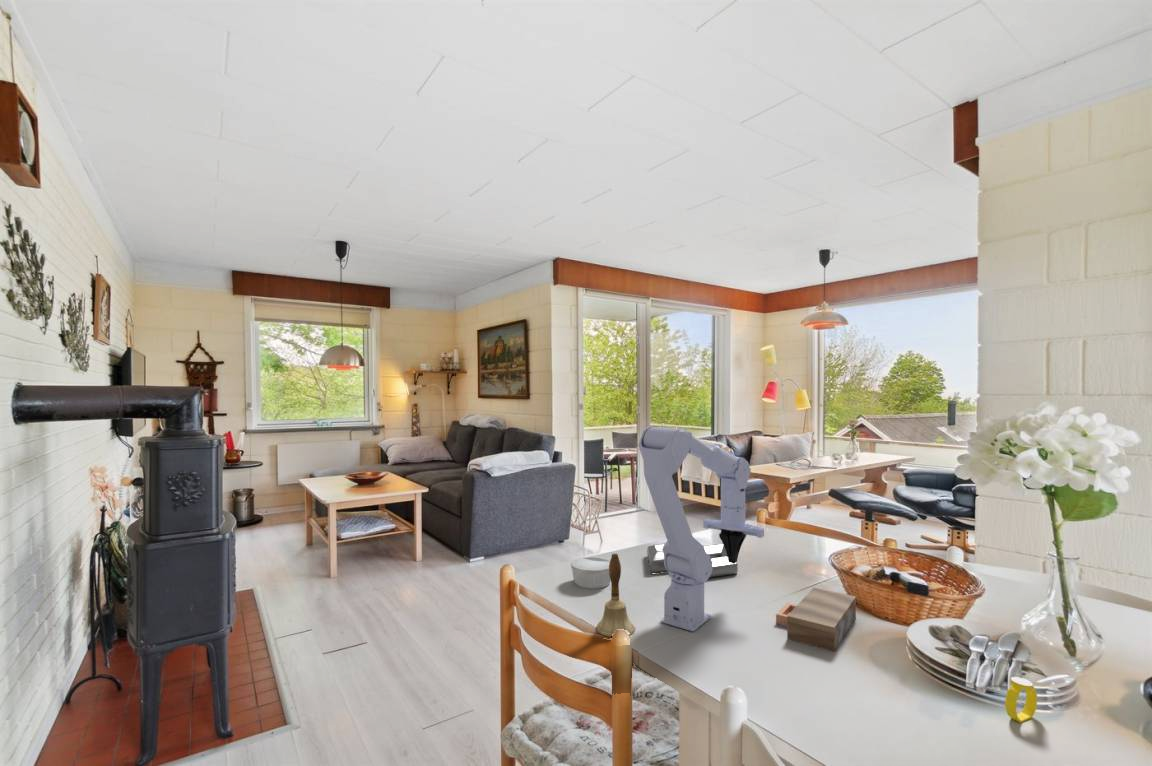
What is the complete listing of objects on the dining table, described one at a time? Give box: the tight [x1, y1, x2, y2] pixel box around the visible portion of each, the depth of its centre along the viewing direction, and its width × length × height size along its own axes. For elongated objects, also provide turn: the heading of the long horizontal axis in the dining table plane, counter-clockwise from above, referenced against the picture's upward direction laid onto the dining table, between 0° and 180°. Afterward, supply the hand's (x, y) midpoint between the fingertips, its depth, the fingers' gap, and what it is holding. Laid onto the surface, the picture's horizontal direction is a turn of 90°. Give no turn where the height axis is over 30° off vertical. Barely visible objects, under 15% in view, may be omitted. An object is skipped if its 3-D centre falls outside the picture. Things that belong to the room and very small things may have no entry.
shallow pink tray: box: [775, 602, 798, 627], centre depth 121 cm, size 8×12×2 cm, turn 52°
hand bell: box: [595, 553, 636, 638], centre depth 118 cm, size 8×8×16 cm
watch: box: [1004, 676, 1038, 723], centre depth 87 cm, size 6×3×6 cm, turn 114°
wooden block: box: [786, 587, 857, 652], centre depth 119 cm, size 20×9×5 cm, turn 142°
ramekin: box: [570, 556, 611, 590], centre depth 146 cm, size 11×11×5 cm
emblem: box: [646, 543, 739, 579], centre depth 160 cm, size 28×5×28 cm
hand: (732, 562), depth 133 cm, fingers closed
